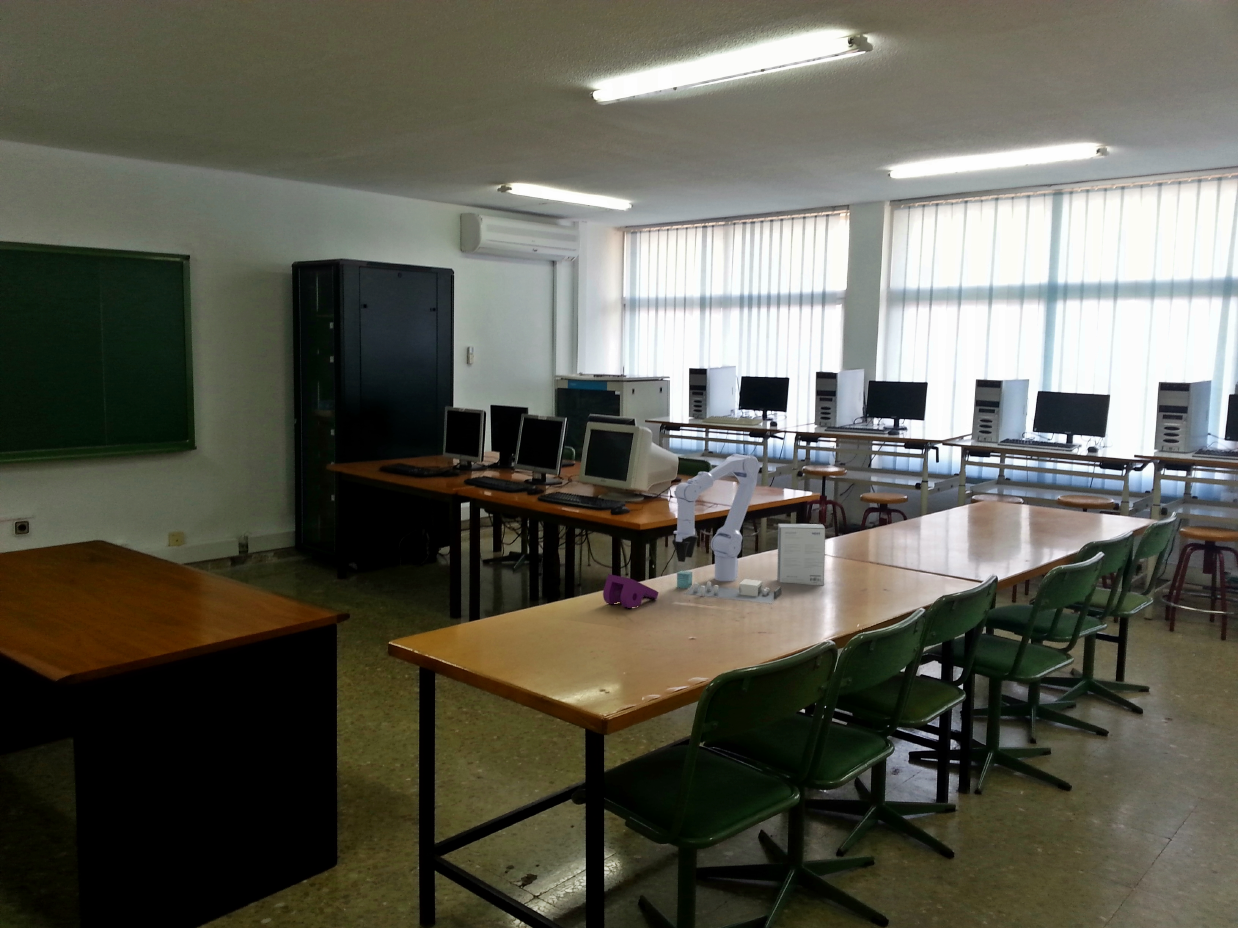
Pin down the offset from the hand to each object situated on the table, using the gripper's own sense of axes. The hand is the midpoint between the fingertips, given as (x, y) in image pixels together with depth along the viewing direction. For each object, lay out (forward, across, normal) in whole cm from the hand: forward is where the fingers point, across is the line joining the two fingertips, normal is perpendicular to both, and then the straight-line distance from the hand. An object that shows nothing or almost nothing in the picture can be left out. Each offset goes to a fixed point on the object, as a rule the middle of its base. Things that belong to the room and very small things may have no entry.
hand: (685, 559), depth 311 cm
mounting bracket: (+10, +26, -8) cm, 29 cm away
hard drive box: (+10, -23, +34) cm, 42 cm away
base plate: (+9, +5, +18) cm, 21 cm away
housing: (+9, +2, +23) cm, 25 cm away
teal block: (+10, 0, 0) cm, 10 cm away
